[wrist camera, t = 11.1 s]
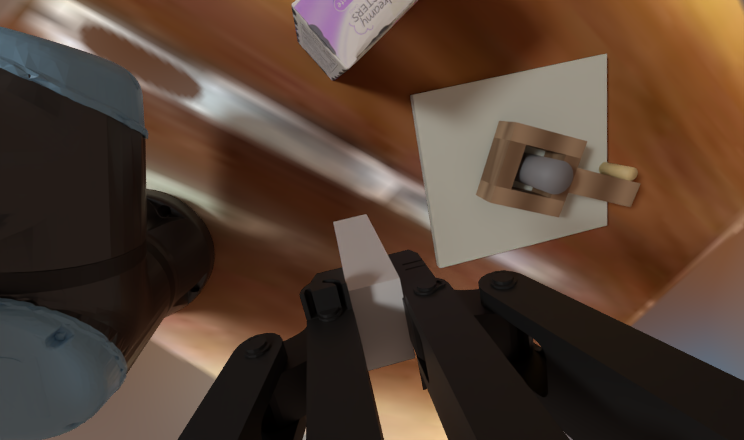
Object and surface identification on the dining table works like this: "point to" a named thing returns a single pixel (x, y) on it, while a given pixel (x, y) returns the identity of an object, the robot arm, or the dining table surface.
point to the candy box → (344, 29)
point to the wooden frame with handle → (556, 146)
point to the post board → (471, 141)
